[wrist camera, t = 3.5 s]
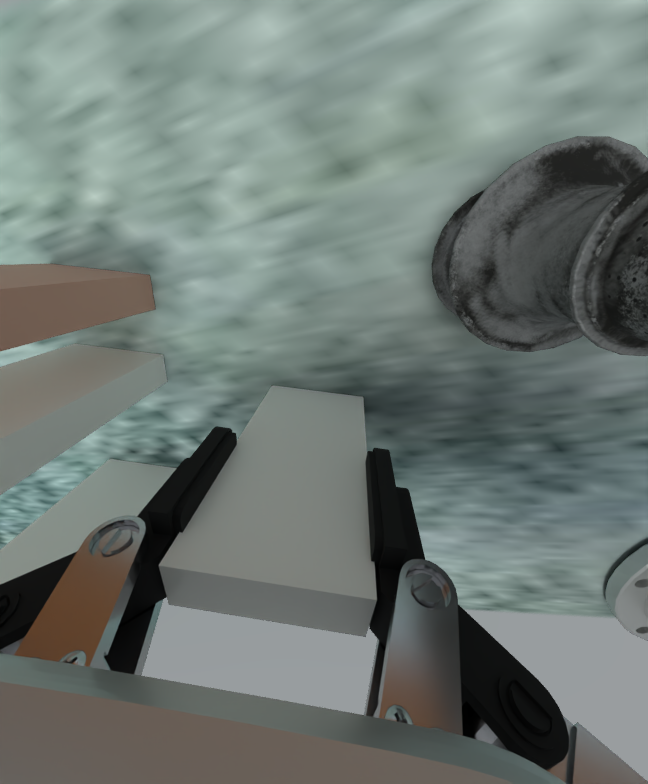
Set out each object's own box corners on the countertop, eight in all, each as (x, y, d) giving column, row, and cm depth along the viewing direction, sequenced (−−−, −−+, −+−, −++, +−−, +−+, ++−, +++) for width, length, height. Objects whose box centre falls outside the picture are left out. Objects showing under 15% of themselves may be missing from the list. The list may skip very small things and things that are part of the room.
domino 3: (363, 396, 15) (376, 600, 6) (358, 421, 16) (365, 636, 7) (271, 385, 15) (158, 565, 6) (271, 410, 16) (168, 604, 7)
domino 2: (181, 469, 19) (24, 664, 10) (184, 486, 19) (40, 684, 10) (109, 458, 19) (-109, 640, 10) (115, 476, 20) (-84, 661, 11)
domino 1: (163, 354, 15) (-110, 495, 6) (167, 381, 16) (-72, 543, 7) (74, 343, 15) (-312, 465, 6) (82, 370, 16) (-254, 514, 7)
